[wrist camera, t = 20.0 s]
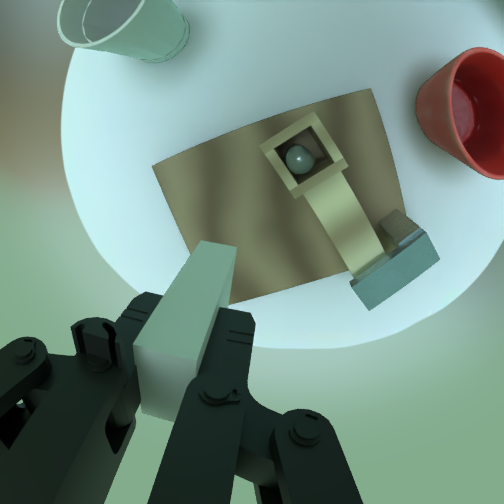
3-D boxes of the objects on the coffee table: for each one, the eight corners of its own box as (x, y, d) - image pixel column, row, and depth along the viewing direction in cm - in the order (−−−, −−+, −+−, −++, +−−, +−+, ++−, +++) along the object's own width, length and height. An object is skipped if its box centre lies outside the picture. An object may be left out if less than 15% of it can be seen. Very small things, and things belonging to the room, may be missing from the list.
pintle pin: (302, 140, 26) (308, 143, 20) (309, 160, 27) (317, 169, 21) (281, 147, 27) (282, 151, 21) (289, 167, 27) (291, 177, 21)
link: (384, 244, 29) (400, 265, 25) (343, 268, 31) (352, 292, 26) (307, 114, 25) (313, 111, 21) (262, 143, 27) (258, 146, 22)
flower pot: (385, 131, 26) (429, 134, 17) (420, 45, 22) (467, 21, 13) (461, 180, 27) (514, 203, 18) (491, 100, 22) (547, 101, 13)
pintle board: (367, 89, 25) (370, 88, 24) (408, 246, 30) (411, 249, 29) (155, 164, 29) (151, 166, 28) (218, 303, 35) (216, 308, 34)
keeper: (336, 252, 30) (350, 285, 24) (396, 208, 28) (425, 230, 21) (353, 274, 31) (368, 310, 25) (410, 232, 29) (440, 259, 22)
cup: (187, 72, 25) (133, 44, 14) (118, 69, 25) (46, 52, 14) (205, 4, 22) (165, -51, 11) (136, 5, 22) (75, -34, 11)
